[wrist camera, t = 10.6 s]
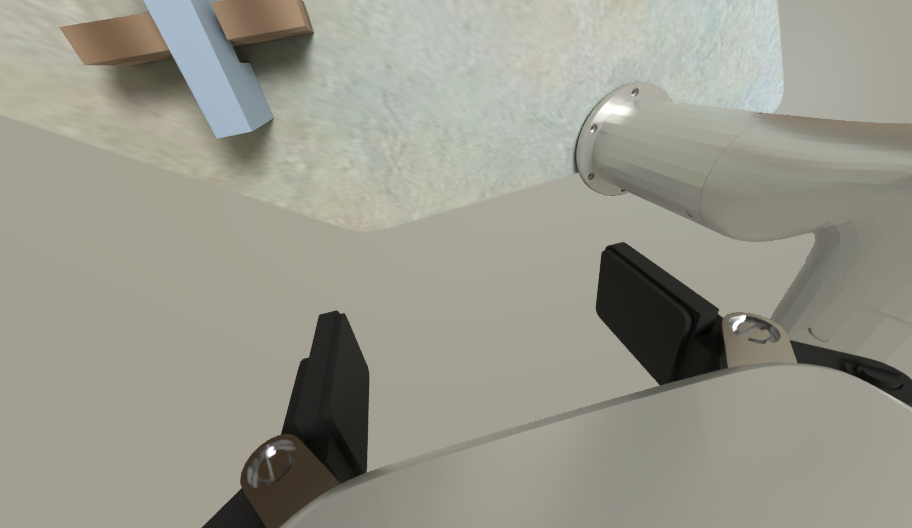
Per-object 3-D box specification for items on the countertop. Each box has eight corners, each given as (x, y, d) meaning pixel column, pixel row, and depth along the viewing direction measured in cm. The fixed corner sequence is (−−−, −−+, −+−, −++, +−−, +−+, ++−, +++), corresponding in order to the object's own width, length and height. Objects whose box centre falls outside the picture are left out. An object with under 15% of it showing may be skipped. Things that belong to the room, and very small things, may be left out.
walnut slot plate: (304, 2, 26) (292, -11, 22) (313, 32, 28) (305, 25, 23) (114, 34, 25) (59, 27, 20) (132, 65, 26) (84, 65, 21)
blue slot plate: (160, -59, 23) (87, -105, 17) (196, -63, 23) (138, -111, 17) (246, 123, 30) (216, 138, 23) (273, 118, 30) (252, 131, 24)
